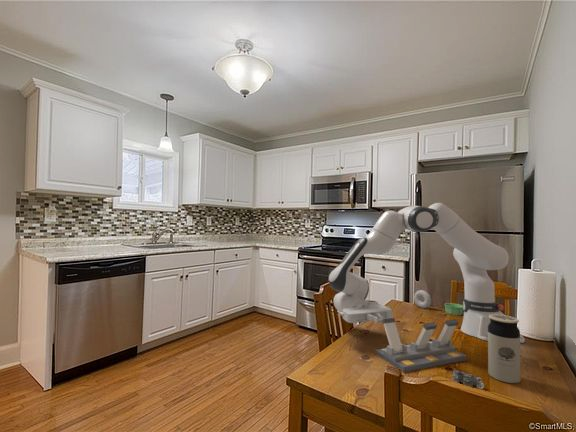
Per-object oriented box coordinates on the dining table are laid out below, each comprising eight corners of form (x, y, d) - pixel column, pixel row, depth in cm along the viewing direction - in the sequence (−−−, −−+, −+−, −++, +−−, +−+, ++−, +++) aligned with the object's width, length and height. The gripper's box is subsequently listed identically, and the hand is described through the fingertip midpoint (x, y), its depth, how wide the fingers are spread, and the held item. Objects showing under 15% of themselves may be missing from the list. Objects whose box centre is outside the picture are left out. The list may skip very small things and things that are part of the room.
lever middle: (413, 346, 105) (424, 323, 100) (422, 344, 106) (434, 322, 102) (416, 350, 104) (427, 326, 99) (425, 348, 105) (437, 325, 101)
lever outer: (391, 352, 101) (381, 319, 106) (401, 351, 102) (391, 318, 107) (393, 352, 100) (384, 318, 105) (404, 350, 101) (394, 317, 106)
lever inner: (435, 342, 108) (446, 320, 104) (444, 341, 110) (455, 318, 106) (438, 346, 107) (449, 323, 103) (447, 345, 108) (458, 322, 104)
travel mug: (489, 368, 97) (489, 312, 97) (520, 376, 92) (520, 317, 92) (486, 378, 91) (486, 317, 91) (520, 387, 85) (519, 323, 86)
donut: (432, 309, 166) (432, 291, 166) (428, 310, 164) (428, 292, 164) (416, 305, 174) (416, 288, 175) (412, 306, 172) (412, 288, 173)
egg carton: (484, 406, 76) (484, 390, 76) (451, 397, 80) (451, 382, 80) (483, 387, 85) (483, 373, 86) (453, 380, 89) (453, 366, 90)
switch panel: (375, 353, 107) (375, 339, 107) (433, 344, 116) (433, 331, 116) (403, 372, 93) (403, 355, 94) (466, 360, 103) (466, 345, 103)
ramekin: (466, 316, 154) (466, 308, 154) (447, 315, 156) (447, 306, 156) (460, 311, 163) (460, 303, 163) (442, 310, 165) (442, 302, 165)
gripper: (336, 304, 120) (355, 313, 107) (379, 300, 127) (402, 309, 114) (336, 320, 120) (355, 331, 107) (379, 315, 127) (402, 325, 114)
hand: (379, 320), depth 110 cm, fingers closed
